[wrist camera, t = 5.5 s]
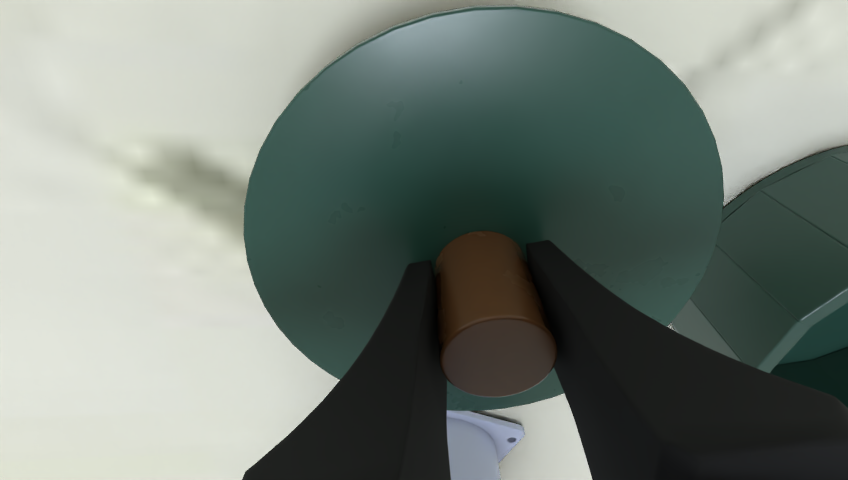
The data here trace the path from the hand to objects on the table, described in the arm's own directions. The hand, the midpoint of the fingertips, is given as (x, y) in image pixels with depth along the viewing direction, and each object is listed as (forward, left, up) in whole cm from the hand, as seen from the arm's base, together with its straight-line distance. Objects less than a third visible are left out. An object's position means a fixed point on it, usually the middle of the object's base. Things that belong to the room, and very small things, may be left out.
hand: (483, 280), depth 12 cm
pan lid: (0, 0, -1) cm, 1 cm away
